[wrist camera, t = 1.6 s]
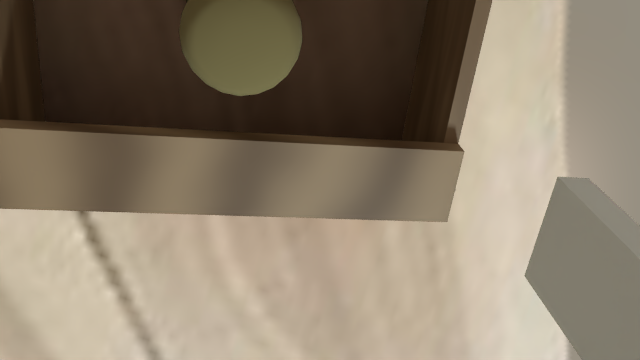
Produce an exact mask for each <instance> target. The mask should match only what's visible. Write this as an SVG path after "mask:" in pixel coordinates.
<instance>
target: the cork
mask: <svg viewBox="0 0 640 360" xmlns="http://www.w3.org/2000/svg"><path fill="white" fill-rule="evenodd" d="M186 3H187V4H186V5H185V7H184V9H183V12H182V15H181V22H180V28H179V36H180V42H181V48H182V52H183V54H184V56H185V58H186V60H187V62H188V64H189V66H190V67H191V69H192V70H193V72H194V73H195V74H196V75H197V76H198V77H199V78H200V79H201V80H202V81H203V82H204V83H206V84H207V85H209V86H211V87H213V88H215V89H216V90H218V91H220V92H222V93H227V94H232V95H237V96H245V95H254V94H259V93H262V92H264V91H266V90H269V89H271V88H273V87H275V86H276V85H277V84H278V83H279V82H281V81H282V80H283V79H284V78H285V77H286V76H287V75H288V74H289V72H290V71H291V69H292V67H293V66H294V64H295V62H296V61H297V59H298V57H299V52H300V48H301V44H302V27H301V20H300V17H299V15H298V12H297V10H296V8H295V5H294V3H293V1H292V0H186Z"/></svg>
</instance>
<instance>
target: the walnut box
mask: <svg viewBox="0 0 640 360" xmlns="http://www.w3.org/2000/svg"><path fill="white" fill-rule="evenodd" d="M491 3H492V0H428V5H427V10H426V16H425V21H424V26H423V31H422V36H421V42H420V47H419V52H418V57H417V63H416V68H415V73H414V78H413V83H412V89H411V94H410V99H409V104H408V110H407V115H406V120H405V125H404V130H403V136H402V141H399V140H380V139H362V138H343V137H324V136H305V135H286V134H268V133H249V132H230V131H211V130H192V129H174V128H155V127H136V126H117V125H98V124H80V123H61V122H45V113H44V103H43V94H42V84H41V74H40V64H39V54H38V44H37V34H36V24H35V14H34V5H33V0H0V208H2V209H35V210H67V211H100V212H133V213H165V214H198V215H231V216H264V217H296V218H329V219H362V220H395V221H427V222H447V220H448V216H449V212H450V208H451V204H452V200H453V196H454V192H455V188H456V184H457V179H458V175H459V171H460V167H461V163H462V159H463V155H464V151H463V149H462V148H461V147H460V145H459V144H458V142H459V138H460V133H461V129H462V125H463V121H464V117H465V112H466V108H467V104H468V100H469V96H470V91H471V87H472V83H473V79H474V75H475V71H476V66H477V62H478V58H479V54H480V50H481V45H482V41H483V37H484V33H485V29H486V24H487V20H488V16H489V12H490V8H491Z"/></svg>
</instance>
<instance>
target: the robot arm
mask: <svg viewBox="0 0 640 360" xmlns="http://www.w3.org/2000/svg"><path fill="white" fill-rule="evenodd" d="M525 277H526V279H527V280H528V282H529V283H530V285H531V286H532V287H533V289H534V290H535V292H536V293H537V295H538V296H539V298H540V299H541V301H542V302H543V304H544V305H545V306H546V308H547V309H548V311H549V312H550V314H551V315H552V317H553V318H554V320H555V321H556V323H557V324H558V325H559V327H560V328H561V330H562V331H563V333H564V334H565V336H566V337H567V339H568V340H569V341H570V343H571V344H572V346H573V347H574V349H575V350H576V352H577V353H578V355H579V356H580V358H581V359H582V360H640V225H639V224H638V223H637V222H635V220H633V219H632V218H631V217H630V216H629V215H628V214H627V213H626V212H625V211H624V210H623V209H622V208H620V207H619V206H618V205H617V204H616V203H615V202H614V201H613V200H612V199H611V198H610V197H609V196H607V195H606V194H605V193H604V192H603V191H602V190H601V189H600V188H599V187H598V186H597V185H595V184H594V183H593V182H592V181H591V180H590V179H589V178H573V177H557V180H556V183H555V186H554V189H553V192H552V195H551V198H550V201H549V204H548V207H547V210H546V213H545V216H544V219H543V222H542V225H541V228H540V231H539V234H538V237H537V240H536V243H535V246H534V249H533V252H532V255H531V258H530V261H529V264H528V267H527V270H526V273H525Z"/></svg>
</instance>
